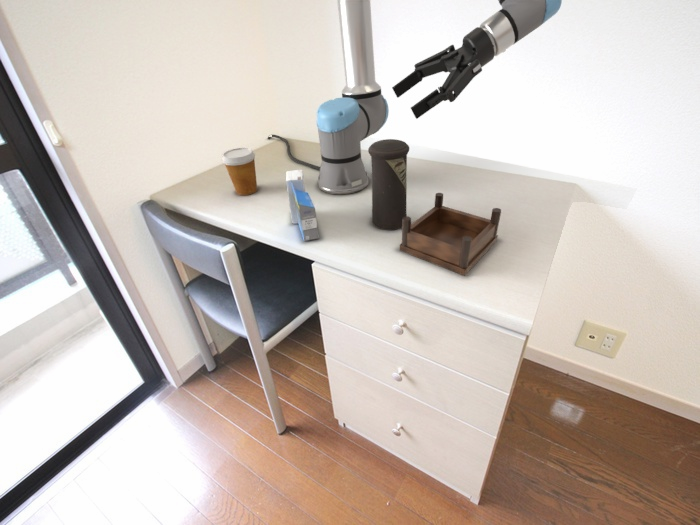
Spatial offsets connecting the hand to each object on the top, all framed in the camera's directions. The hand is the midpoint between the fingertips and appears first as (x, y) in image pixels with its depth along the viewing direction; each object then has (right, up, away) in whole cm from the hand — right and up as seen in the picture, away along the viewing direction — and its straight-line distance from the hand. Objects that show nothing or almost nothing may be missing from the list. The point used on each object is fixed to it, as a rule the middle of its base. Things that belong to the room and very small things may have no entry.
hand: (403, 102), depth 86 cm
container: (-3, -27, +7) cm, 28 cm away
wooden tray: (+10, -33, -3) cm, 35 cm away
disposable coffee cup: (-44, -15, +28) cm, 54 cm away
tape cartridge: (-23, -30, +6) cm, 38 cm away
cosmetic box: (-25, -26, +11) cm, 38 cm away
